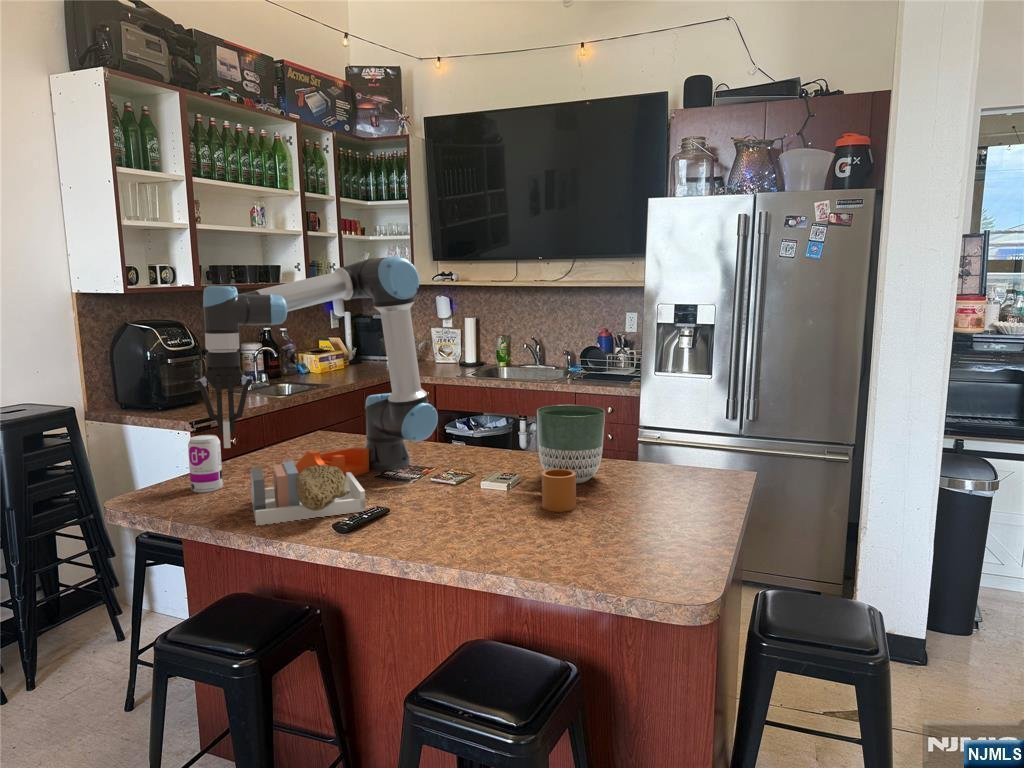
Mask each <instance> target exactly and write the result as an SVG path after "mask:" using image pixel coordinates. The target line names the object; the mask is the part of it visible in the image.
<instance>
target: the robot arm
mask: <svg viewBox="0 0 1024 768" xmlns="http://www.w3.org/2000/svg"><path fill="white" fill-rule="evenodd" d="M419 287H420V276H419V272H418V270H417V268H416V267H415V265H414V264H413V263H412V262H410V261H409V260H408V259H407V258H403V257H399V256H398V257H397V256H386V257H385V256H384V257H374V258H373V257H371V258H367V259H363V260H360V261H357V262H355V263H351V264H348V265H344V266H339V267H338V268H335V269H334V272H331V273H326V274H321V275H317V276H312V277H309V278H304V279H300V280H299V279H298V280H296V281H291V282H286V283H283V284H278V285H273V286H269V287H264V288H261V289H257V290H253V291H247V292H242V293H238V288H237V287H236V286H233V285H232V286H231V285H230V286H227V285H226V286H221V285H211V286H209V285H207V286H206V287H205V288H204V289H203V296H202V300H203V301H202V303H203V304H202V307H203V319H204V332H205V333H204V343H205V345H204V346H205V349H206V351H207V352H206V353H205V362H206V370H205V373H204V376H203V377H201V378H199V379H197V380H196V381H195V386H196V387H197V388H198V389H199V390H200V392H201V396H202V399H203V402H204V405H205V409H206V412H207V414H208V419H209V420H213V421H216V423H217V432H218V435H223V449H231V448H232V447H231V434H235V432H236V425H235V424H236V423H235V421H236V420H237V419H240V418H242V417H243V416H244V415H243V413H244V409H245V404H246V401H247V396H248V395H247V394H248V390H249V388H250V386H251V384H252V383H253V379H252V378H251V377H247V376H246V375H244V373H243V371H242V370H241V353H240V352H239V349H240V330H239V329H240V328H239V326H267V325H268V326H275V325H282V324H283V323H284V322H286V320H287V317H288V312H292V311H296V310H298V309H303V308H307V307H312V306H316V305H318V304H323V303H326V302H332V301H335V300H339V299H342V300H343V301H350V300H354V299H372V303H373V307H374V309H375V310H377V311H378V312H379V314H380V318H381V319H380V320H381V326H382V332H383V333H382V334H383V339H384V347H385V353H386V359H387V365H388V366H387V367H388V372H389V373H388V374H389V379H390V380H389V381H390V386H391V387H390V388H391V392H389V393H377V394H371V395H368V396H367V397H366V399H365V404H364V405H365V406H364V409H365V423H366V424H365V427H366V428H365V429H366V431H365V432H366V444H365V447H364V448H367V449H369V471H371V472H372V471H373V472H374V471H375V472H388V471H387V470H391V471H395V470H394V469H397V470H399V469H398V468H402V469H404V468H403V467H405V468H407V467H409V466H410V465H411V456H410V454H409V451H408V448H407V445H406V443H405V440H406V441H409V442H422V441H425V440H427V439H428V438H429V437H431V436H432V434H433V432H434V431H435V430H436V429H437V425H438V421H439V417H438V412H437V410H436V409H437V408H435V407H434V406H433V405H432V404H431V403H429V399H428V392H427V391H425V390H424V389H423V388H422V386H421V385H422V384H421V378H420V372H419V371H420V370H419V363H418V357H417V356H418V355H417V349H416V342H415V341H416V340H415V335H414V334H415V333H414V329H413V321H412V319H413V318H412V312H411V308H412V306H413V305H414V304H415V297H414V296H415V295H416V294H417V292H418V289H419ZM240 380H241V386H242V387H241V391H240V397H239V402H238V404H237V405H238V406H237V410H236V412H235V404H234V403H235V401H234V389H235V387H236V386H237V385H238V384H239V382H240ZM207 382H209V384H210V385H211V386H212V387H213V388H214V389H215V390H216V391H215V392H216V397H215V398H216V410H217V411H216V413H217V414H216V413H215V411H214V409H213V405H212V403H211V399H210V397H209V393H208V390H207V387H206V386H207V384H208V383H207ZM223 390H227V402H228V403H227V405H228V419H224V415H223V414H224V413H223ZM408 465H409V466H408ZM406 466H407V467H406Z"/></svg>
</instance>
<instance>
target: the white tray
mask: <svg viewBox="0 0 1024 768" xmlns="http://www.w3.org/2000/svg"><path fill="white" fill-rule="evenodd" d="M355 477H356V476H355ZM355 477H354V476H353V475H352V473H351V472H346V479H347V481H348V482H349V487H350V492H349V493H348V494H346V495H345V496H344V497H341V498H335V500H334V501H333V502H332V503H331V504H329V505H328V506H327V507H325V508H324V509H322V510H318V511H317V510H316V511H313V510H311V509H308V508H306V507H305V506H303V505H302V504H301V502H300V505H296V506H287V507H279V508H277V506H276V503H275V494H274V486H273V487H265V502H266V509H262V510H255V512H254V506H252V511H253V515H254V521H256V522H255V525H256V527H257V526H258V525H260V526H266V525H265V524H268V525H273V523H276V524H281V523H280V522H283V523H288V522H287V521H291V522H295V521H294V520H299V521H302V520H301V519H307V520H309V519H308V518H315V517H323V518H325V517H324V516H331V515H339V514H345V513H354V512H359V511H362V510H366V490H365V489H364V488H363V487H362V485H361V484H360V483H359V481H358V480H357V478H355ZM250 491H251V495H252V489H250ZM251 505H253V501H252V500H251ZM354 514H355V513H354ZM339 516H340V515H339ZM331 517H332V516H331ZM315 519H316V518H315ZM258 527H259V526H258Z"/></svg>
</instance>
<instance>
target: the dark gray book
mask: <svg viewBox="0 0 1024 768" xmlns="http://www.w3.org/2000/svg"><path fill="white" fill-rule="evenodd" d="M250 480H251V482H250V483H251V484H250V485H251V490H252V494H251V502H252V501H253V506H254V511H253V513H254V512H255V510H262V509H266V502H265V488H266V486H265V482H266V481H265V476H264V473H263V470H262V467H261V466H254V467H253V466H252V467H250ZM253 506H252V507H253Z"/></svg>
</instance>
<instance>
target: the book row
mask: <svg viewBox="0 0 1024 768" xmlns="http://www.w3.org/2000/svg"><path fill="white" fill-rule="evenodd" d="M295 465H296V464H295V463H294V461H293V460H291V461H290V460H289V461H283V462H282V463H281V464H273V465H272V469H273V487H274V494H275V503H276V506H277V508H279V507H287V506H296V505H300V500H299V499H298V496H297V490H296V483H295V482H296V478H297V477H298V474H299V473H298V471H297V469H296V467H295Z"/></svg>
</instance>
